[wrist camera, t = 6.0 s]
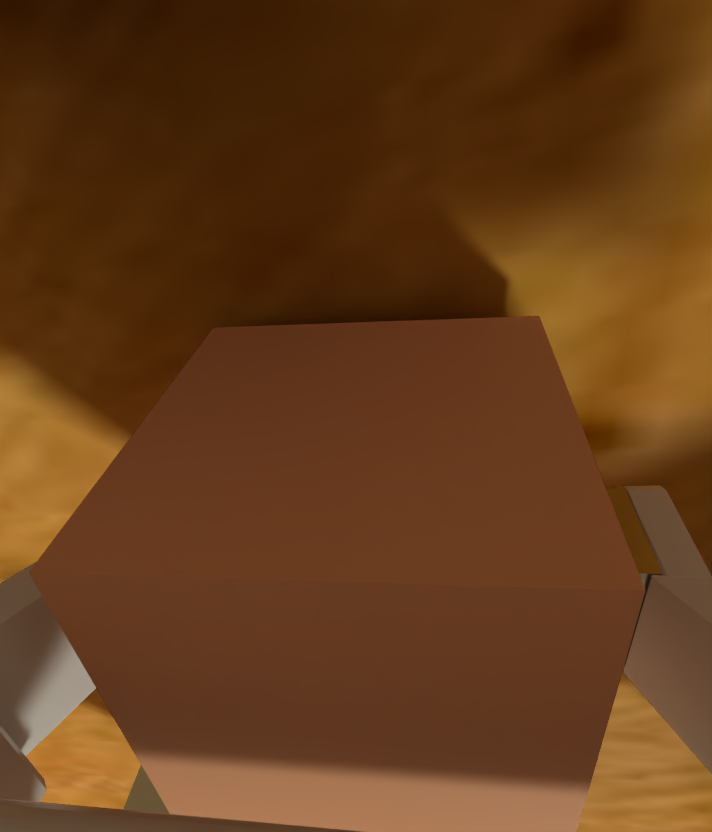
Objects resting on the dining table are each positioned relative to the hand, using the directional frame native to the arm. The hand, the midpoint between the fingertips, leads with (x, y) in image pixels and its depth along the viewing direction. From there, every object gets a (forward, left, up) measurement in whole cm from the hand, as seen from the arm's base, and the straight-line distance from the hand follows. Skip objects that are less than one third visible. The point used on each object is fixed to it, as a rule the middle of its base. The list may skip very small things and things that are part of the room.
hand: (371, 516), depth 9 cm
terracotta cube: (0, 0, -2) cm, 2 cm away
